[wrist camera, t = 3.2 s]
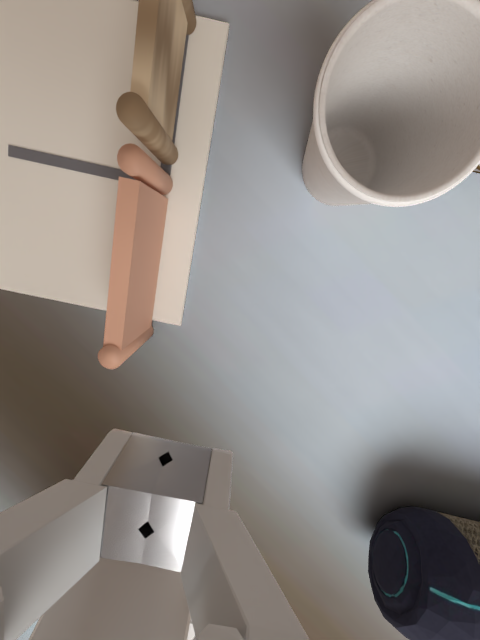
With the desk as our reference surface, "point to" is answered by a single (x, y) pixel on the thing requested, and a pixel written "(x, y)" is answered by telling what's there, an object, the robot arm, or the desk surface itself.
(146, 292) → the fence gate
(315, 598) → the desk surface
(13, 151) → the card
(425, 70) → the dixie cup
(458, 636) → the portable speaker
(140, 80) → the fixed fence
